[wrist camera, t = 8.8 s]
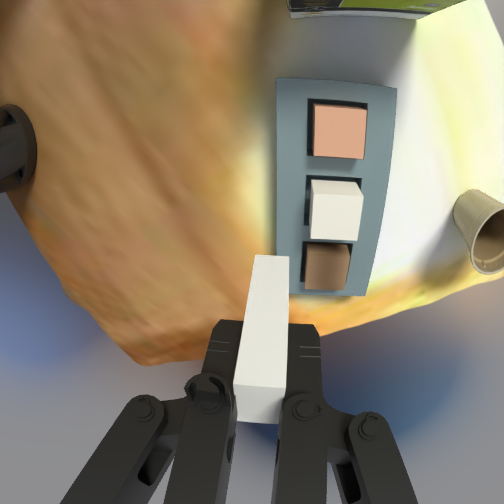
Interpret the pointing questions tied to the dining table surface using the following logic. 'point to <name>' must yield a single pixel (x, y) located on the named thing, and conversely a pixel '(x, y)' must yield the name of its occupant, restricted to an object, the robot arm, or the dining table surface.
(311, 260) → the walnut key
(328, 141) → the terracotta key
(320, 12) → the tea box
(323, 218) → the cream key
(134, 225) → the dining table surface
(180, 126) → the dining table surface
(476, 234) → the flower pot
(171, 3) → the dining table surface
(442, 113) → the dining table surface
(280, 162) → the grey slotted tray
